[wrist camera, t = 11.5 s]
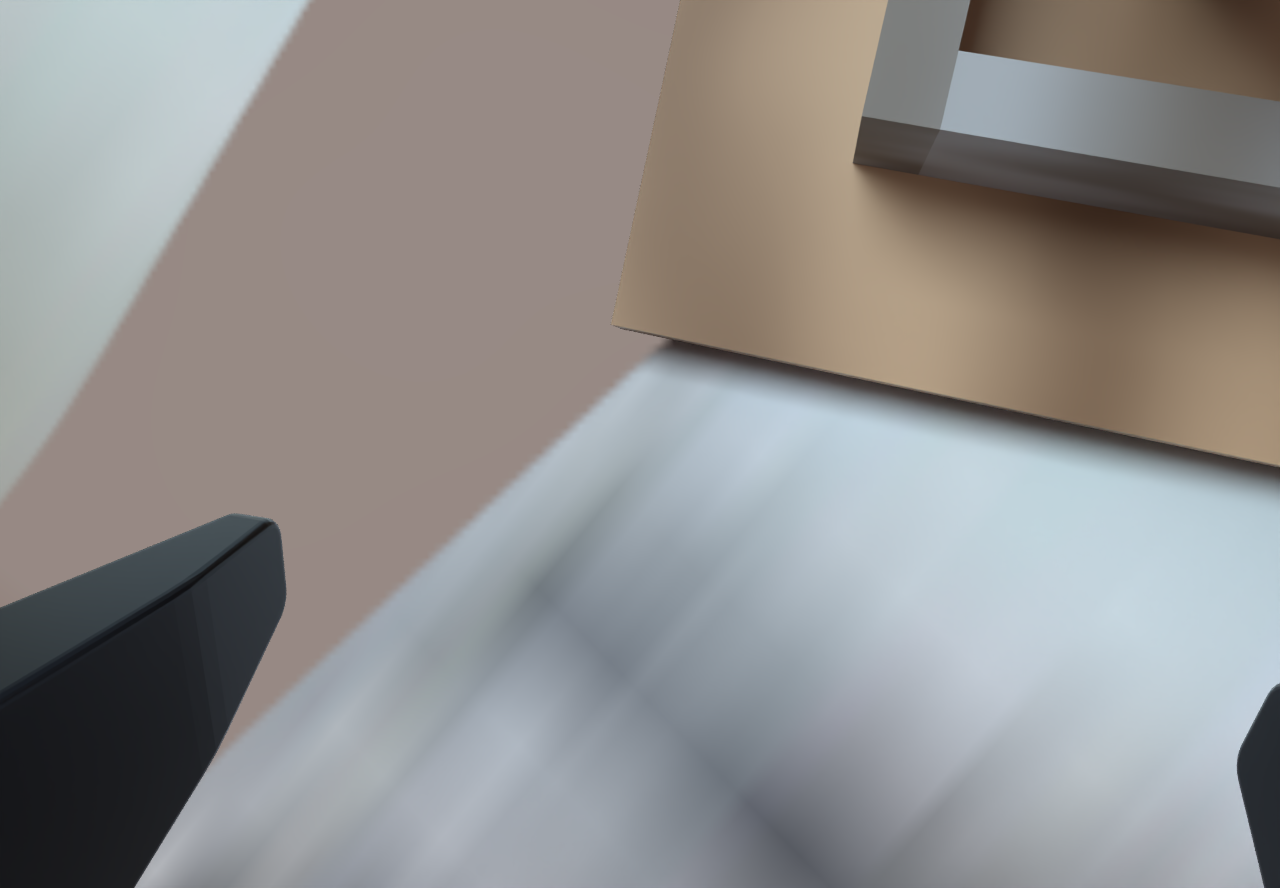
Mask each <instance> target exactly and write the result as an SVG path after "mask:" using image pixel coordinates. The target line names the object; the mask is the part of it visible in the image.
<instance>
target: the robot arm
mask: <svg viewBox="0 0 1280 888" xmlns="http://www.w3.org/2000/svg"><path fill="white" fill-rule="evenodd" d="M285 601H286V581H285V570H284V561H283V550H282V540H281V533H280V529H279V527H278V525H277V524H276V523H275V522H274V521H273V520H271V519H269V518H263V517H256V516H250V515H243V514H229V515H227V516H224V517H222V518H219V519H217V520H214V521H212V522H209V523H207V524H204V525H202V526H199V527H197V528H195V529H192V530H190V531H187V532H185V533H182V534H180V535H178V536H175V537H173V538H170V539H168V540H165V541H163V542H160V543H158V544H155V545H153V546H150V547H148V548H146V549H143V550H141V551H138V552H136V553H133V554H131V555H128V556H126V557H124V558H121V559H118V560H116V561H114V562H111V563H109V564H106V565H104V566H101V567H99V568H97V569H94V570H91V571H89V572H87V573H84V574H82V575H79V576H77V577H74V578H72V579H70V580H67V581H64V582H62V583H60V584H57V585H55V586H52V587H50V588H47V589H45V590H43V591H40V592H37V593H35V594H33V595H30V596H28V597H25V598H23V599H21V600H18V601H16V602H13V603H10V604H8V605H6V606H3V607H1V608H0V888H134V887H135V886H136V884H137V882H138V881H139V879H140V878H141V876H142V874H143V873H144V871H145V869H146V868H147V866H148V865H149V863H150V861H151V860H152V858H153V856H154V855H155V853H156V852H157V850H158V848H159V847H160V845H161V843H162V842H163V840H164V839H165V837H166V835H167V834H168V832H169V830H170V829H171V827H172V825H173V824H174V822H175V821H176V819H177V817H178V816H179V814H180V812H181V811H182V809H183V808H184V806H185V804H186V803H187V801H188V799H189V798H190V796H191V795H192V793H193V791H194V790H195V788H196V786H197V785H198V783H199V782H200V780H201V778H202V777H203V775H204V773H205V772H206V770H207V768H208V766H209V765H210V763H211V761H212V759H213V758H214V756H215V754H216V753H217V751H218V749H219V747H220V745H221V743H222V741H223V739H224V736H225V735H226V733H227V731H228V729H229V727H230V724H231V722H232V720H233V718H234V716H235V714H236V712H237V710H238V708H239V705H240V703H241V701H242V699H243V697H244V695H245V693H246V690H247V688H248V686H249V684H250V682H251V680H252V678H253V676H254V673H255V671H256V669H257V667H258V665H259V663H260V661H261V659H262V656H263V654H264V652H265V650H266V648H267V646H268V644H269V642H270V639H271V637H272V635H273V633H274V631H275V629H276V627H277V624H278V622H279V620H280V618H281V616H282V613H283V610H284V606H285ZM1237 774H1238V780H1239V784H1240V789H1241V793H1242V797H1243V801H1244V805H1245V809H1246V814H1247V818H1248V822H1249V826H1250V830H1251V834H1252V838H1253V843H1254V847H1255V851H1256V855H1257V859H1258V863H1259V867H1260V872H1261V876H1262V880H1263V884H1264V888H1280V683H1279V684H1277V685H1276V686H1275V687H1273V688H1272V689H1271V691H1270V692H1269V694H1268V695H1267V697H1266V699H1265V701H1264V703H1263V705H1262V707H1261V709H1260V711H1259V713H1258V715H1257V716H1256V718H1255V720H1254V722H1253V724H1252V726H1251V728H1250V730H1249V732H1248V734H1247V736H1246V738H1245V739H1244V741H1243V743H1242V745H1241V748H1240V750H1239V754H1238V759H1237Z"/></svg>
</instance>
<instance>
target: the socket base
mask: <svg viewBox="0 0 1280 888" xmlns="http://www.w3.org/2000/svg"><path fill="white" fill-rule="evenodd" d="M611 325H613V326H616V327H618V328H620V329H624V330H629V331H634V332H639V333H644V334H648V335H653V336H658V337H662V338H667V339H672V340H676V341H681V342H686V343H691V344H695V345H700V346H705V347H710V348H714V349H719V350H724V351H729V352H733V353H738V354H743V355H748V356H752V357H757V358H762V359H767V360H771V361H776V362H781V363H786V364H790V365H795V366H800V367H804V368H809V369H814V370H819V371H823V372H828V373H833V374H838V375H842V376H847V377H852V378H857V379H861V380H866V381H871V382H876V383H880V384H885V385H890V386H895V387H899V388H904V389H909V390H914V391H918V392H923V393H928V394H932V395H937V396H942V397H947V398H951V399H956V400H961V401H966V402H970V403H975V404H980V405H985V406H989V407H994V408H999V409H1004V410H1008V411H1013V412H1018V413H1023V414H1027V415H1032V416H1037V417H1042V418H1046V419H1051V420H1056V421H1060V422H1065V423H1070V424H1075V425H1079V426H1084V427H1089V428H1094V429H1098V430H1103V431H1108V432H1113V433H1117V434H1122V435H1127V436H1132V437H1136V438H1141V439H1146V440H1151V441H1155V442H1160V443H1165V444H1170V445H1174V446H1179V447H1184V448H1188V449H1193V450H1198V451H1203V452H1207V453H1212V454H1217V455H1222V456H1226V457H1231V458H1236V459H1241V460H1245V461H1250V462H1255V463H1260V464H1264V465H1269V466H1274V467H1279V468H1280V0H680V3H679V8H678V13H677V17H676V23H675V27H674V32H673V36H672V41H671V46H670V50H669V55H668V59H667V64H666V69H665V74H664V78H663V83H662V88H661V92H660V97H659V102H658V107H657V111H656V116H655V121H654V125H653V130H652V135H651V139H650V144H649V149H648V153H647V158H646V163H645V167H644V172H643V177H642V181H641V186H640V191H639V196H638V200H637V205H636V210H635V214H634V219H633V224H632V229H631V233H630V238H629V243H628V247H627V252H626V256H625V261H624V266H623V271H622V275H621V280H620V284H619V289H618V294H617V299H616V304H615V308H614V313H613V317H612V322H611Z"/></svg>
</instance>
